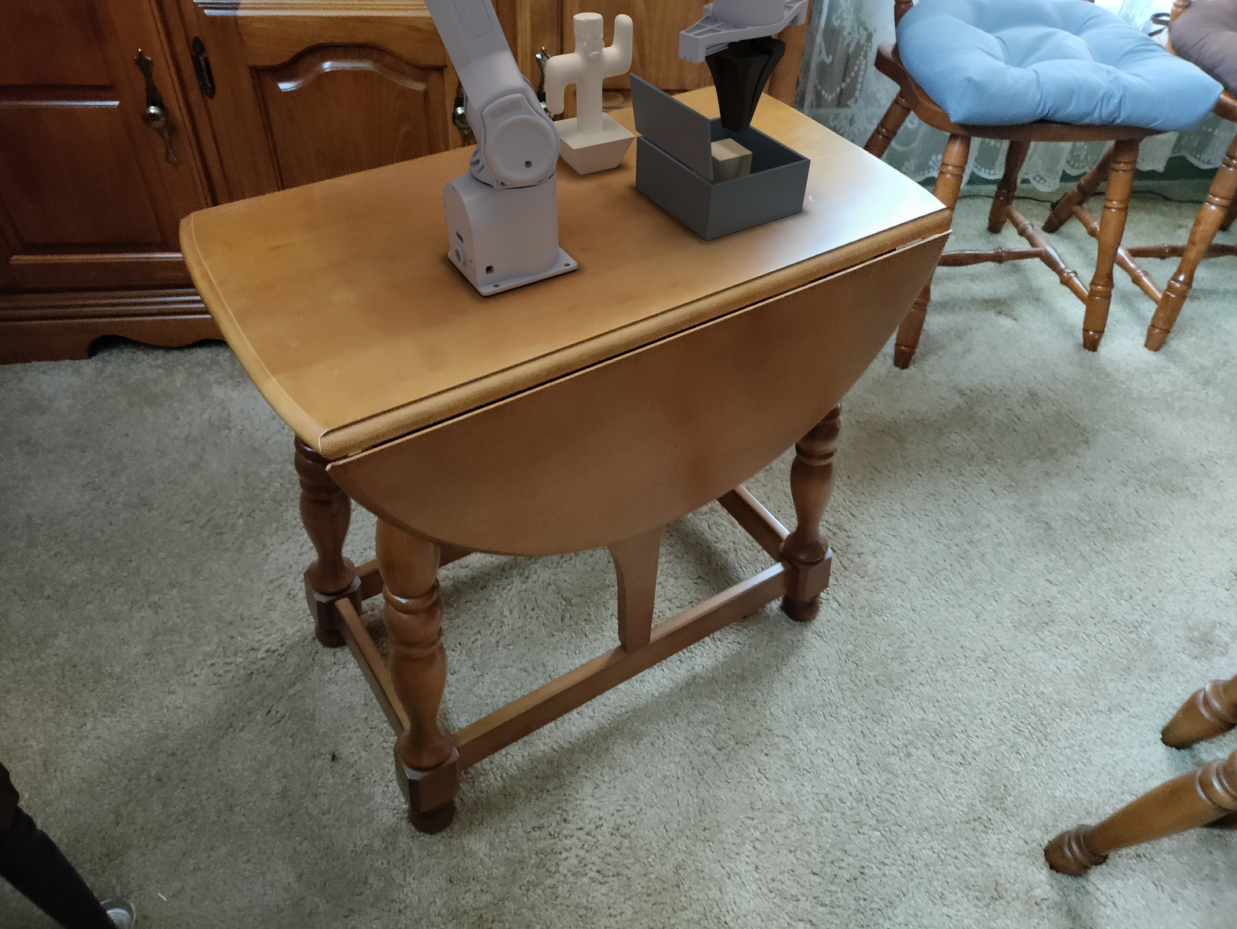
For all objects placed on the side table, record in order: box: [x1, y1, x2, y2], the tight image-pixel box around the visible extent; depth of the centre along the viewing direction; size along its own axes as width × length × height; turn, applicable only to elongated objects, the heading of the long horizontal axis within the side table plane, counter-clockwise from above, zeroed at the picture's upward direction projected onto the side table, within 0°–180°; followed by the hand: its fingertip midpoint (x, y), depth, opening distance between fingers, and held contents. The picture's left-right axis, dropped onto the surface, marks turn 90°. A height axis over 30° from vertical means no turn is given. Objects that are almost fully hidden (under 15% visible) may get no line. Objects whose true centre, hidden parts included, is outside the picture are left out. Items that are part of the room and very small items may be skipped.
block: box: [696, 138, 752, 185], centre depth 88 cm, size 4×4×4 cm
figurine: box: [544, 12, 637, 176], centre depth 89 cm, size 7×9×15 cm
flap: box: [628, 72, 713, 181], centre depth 80 cm, size 6×13×1 cm
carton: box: [634, 116, 812, 242], centre depth 86 cm, size 12×13×5 cm
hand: (734, 127), depth 76 cm, fingers closed
